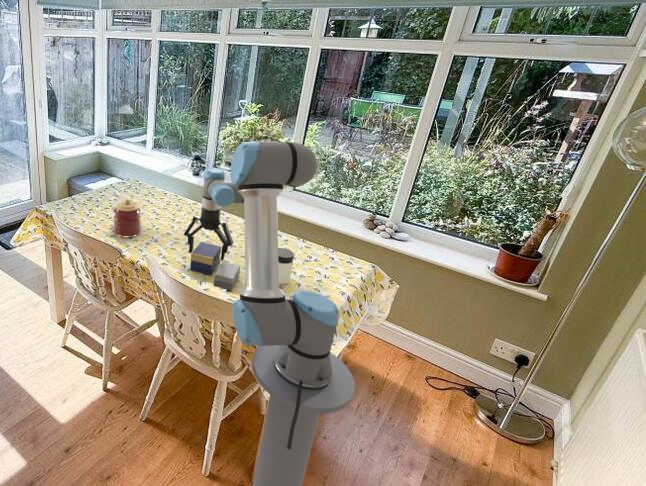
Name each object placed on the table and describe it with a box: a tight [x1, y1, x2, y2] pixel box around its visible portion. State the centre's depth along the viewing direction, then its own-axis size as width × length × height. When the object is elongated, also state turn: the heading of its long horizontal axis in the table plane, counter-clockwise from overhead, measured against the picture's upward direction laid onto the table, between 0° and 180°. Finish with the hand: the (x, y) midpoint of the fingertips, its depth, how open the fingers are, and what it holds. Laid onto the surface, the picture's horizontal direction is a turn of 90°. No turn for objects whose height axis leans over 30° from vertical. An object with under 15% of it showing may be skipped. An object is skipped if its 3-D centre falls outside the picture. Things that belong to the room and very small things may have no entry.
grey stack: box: [212, 261, 241, 292], centre depth 160 cm, size 12×7×5 cm, turn 153°
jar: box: [278, 247, 295, 286], centre depth 162 cm, size 9×8×12 cm
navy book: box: [190, 241, 222, 265], centre depth 169 cm, size 12×9×3 cm
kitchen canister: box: [113, 198, 142, 236], centre depth 197 cm, size 13×13×18 cm
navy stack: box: [189, 254, 221, 277], centre depth 171 cm, size 12×9×5 cm
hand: (206, 255), depth 170 cm, fingers open, 13 cm apart
